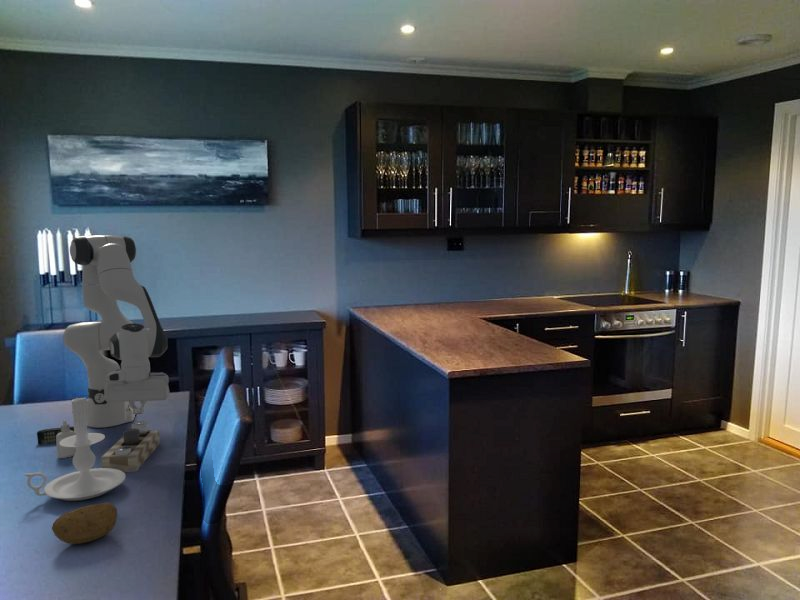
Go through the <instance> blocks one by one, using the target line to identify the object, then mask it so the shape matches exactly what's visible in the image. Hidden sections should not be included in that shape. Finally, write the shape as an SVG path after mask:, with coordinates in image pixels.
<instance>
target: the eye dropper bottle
mask: <svg viewBox="0 0 800 600" xmlns="http://www.w3.org/2000/svg"><path fill="white" fill-rule="evenodd" d="M69 427H70V423H68V422H67V420H66V419H64V420H63V421H62V424H61V425H60V428H61V431H62V432H60V433H58V434H57V435H56V442H55V444H56V456H57V458H58V459H61V458H63V459H67V457H68V458H71V457H74V455H75V453H76V448H75V447H64V446H61V445H60V444H59V443H60V441H61V440H63V439H65V438H67V437H70V436H73V435H76V434H75V433H74V431H71V430H70V428H69ZM61 460H62V459H61Z"/></svg>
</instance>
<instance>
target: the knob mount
mask: <svg viewBox="0 0 800 600" xmlns="http://www.w3.org/2000/svg"><path fill="white" fill-rule="evenodd" d="M159 432H160V430H159V429H154V430H153V429H151V430H149V429H147V436H146V437H139V444H138V445H135V446H129V447H131V453H130V454H129V455H115V449H116V448H119V447H124V436H122V437H121V438H120V439H118V441H116V442H115V443H114V444H113V445H112V446H111V448H109V449H108V450H107V451H106V452H105V453H104V454H103V455H102V456H101V459H100V460H101V468H112V469H117V470H120V471H122V472H124V473H130V472H129V471H137V472H138V470H139V469H140V468H141V467H142V466H143V465H144V464H145V462H146V461H147V460H148V458H149V457H150V456H151V455H152V454H153V453H154V451H155V450H156V449H157V448H158V447H159V445H160V433H159ZM151 453H152V454H151ZM150 454H151V455H150ZM146 459H147V460H146ZM145 460H146V461H145ZM144 461H145V462H144ZM141 465H142V466H141ZM140 466H141V467H140ZM139 467H140V468H139Z"/></svg>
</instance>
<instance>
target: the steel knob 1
mask: <svg viewBox="0 0 800 600" xmlns="http://www.w3.org/2000/svg"><path fill="white" fill-rule="evenodd" d="M130 453H131V447H129V446H124V447H119V448H116V449H115V455H129V454H130Z"/></svg>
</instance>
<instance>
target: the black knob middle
mask: <svg viewBox="0 0 800 600" xmlns="http://www.w3.org/2000/svg"><path fill="white" fill-rule="evenodd" d="M122 435H123V436H124V446H135V445H138V444H139V429H135V428H134V429H132V428H128V429H124V430H123V432H122ZM123 436H122V437H123Z"/></svg>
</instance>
